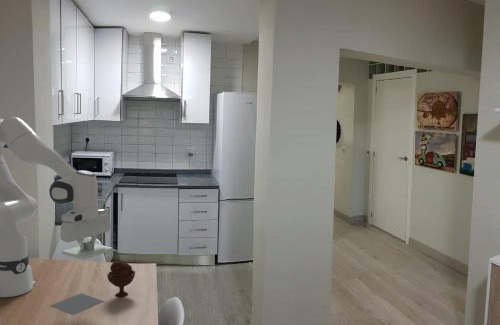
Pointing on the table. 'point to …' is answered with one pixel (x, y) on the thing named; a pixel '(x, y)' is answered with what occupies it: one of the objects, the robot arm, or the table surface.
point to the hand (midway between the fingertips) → (87, 247)
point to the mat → (77, 304)
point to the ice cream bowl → (121, 276)
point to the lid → (87, 250)
